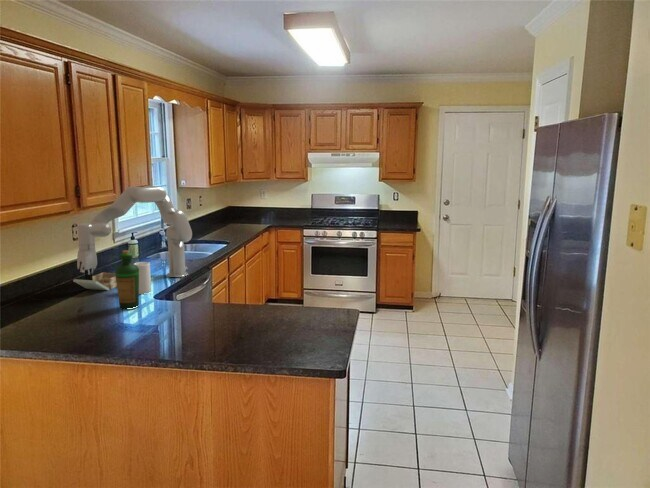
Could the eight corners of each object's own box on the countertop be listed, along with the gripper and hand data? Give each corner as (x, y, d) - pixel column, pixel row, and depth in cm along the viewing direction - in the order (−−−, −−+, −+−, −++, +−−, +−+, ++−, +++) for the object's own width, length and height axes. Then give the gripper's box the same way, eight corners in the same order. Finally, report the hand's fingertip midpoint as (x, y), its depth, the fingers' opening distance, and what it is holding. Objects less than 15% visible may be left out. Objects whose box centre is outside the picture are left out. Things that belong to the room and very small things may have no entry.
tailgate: (89, 287, 251) (73, 279, 239) (110, 289, 249) (95, 280, 237) (88, 289, 251) (73, 281, 239) (109, 291, 249) (95, 282, 236)
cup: (154, 290, 251) (152, 262, 248) (146, 295, 243) (145, 265, 240) (139, 290, 252) (138, 261, 249) (132, 294, 244) (130, 264, 241)
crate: (103, 283, 263) (102, 272, 262) (124, 284, 261) (123, 273, 260) (89, 289, 252) (88, 277, 250) (111, 290, 249) (110, 279, 248)
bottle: (112, 308, 219) (108, 251, 214) (130, 303, 229) (127, 248, 224) (127, 312, 215) (124, 254, 210) (146, 306, 224) (143, 250, 219)
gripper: (90, 244, 246) (92, 277, 249) (70, 249, 232) (72, 284, 235) (102, 245, 245) (104, 278, 248) (83, 250, 230) (85, 285, 233)
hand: (89, 281), depth 241 cm, fingers closed
